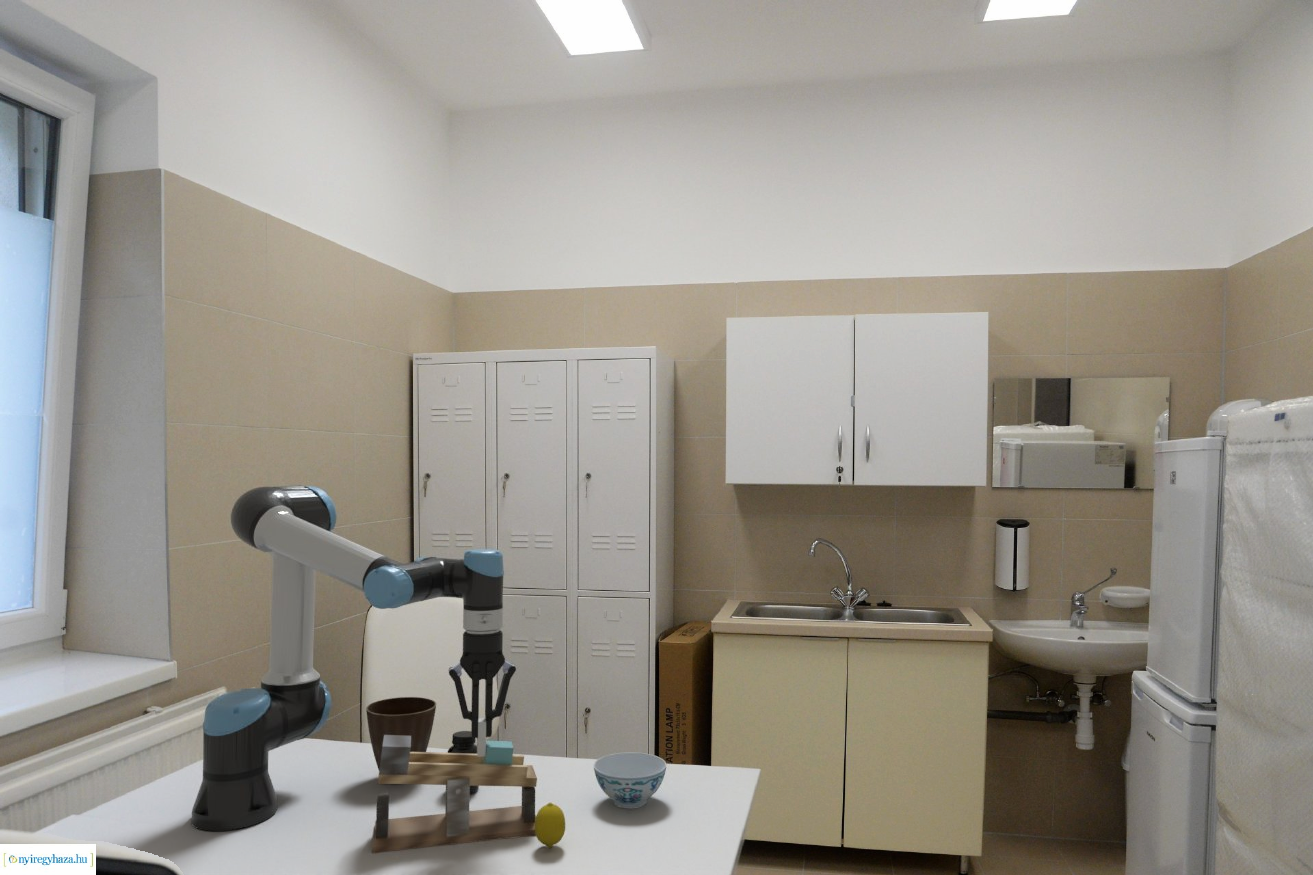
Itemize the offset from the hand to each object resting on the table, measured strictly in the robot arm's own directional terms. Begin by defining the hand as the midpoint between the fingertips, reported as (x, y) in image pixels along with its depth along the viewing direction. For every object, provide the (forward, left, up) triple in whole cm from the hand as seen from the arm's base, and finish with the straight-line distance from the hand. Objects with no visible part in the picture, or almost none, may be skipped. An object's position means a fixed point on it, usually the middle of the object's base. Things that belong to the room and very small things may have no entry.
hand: (481, 753), depth 164 cm
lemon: (+12, -12, -14) cm, 22 cm away
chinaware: (+31, +5, -14) cm, 34 cm away
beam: (-4, 0, -5) cm, 7 cm away
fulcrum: (-4, 0, -14) cm, 15 cm away
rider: (+3, 0, -3) cm, 4 cm away
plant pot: (-15, +31, -14) cm, 37 cm away
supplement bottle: (-2, +20, -14) cm, 25 cm away
